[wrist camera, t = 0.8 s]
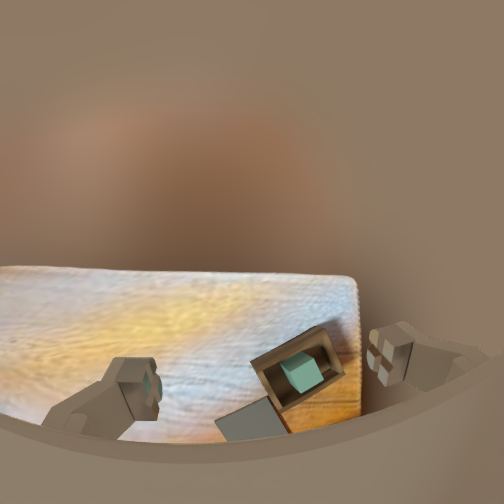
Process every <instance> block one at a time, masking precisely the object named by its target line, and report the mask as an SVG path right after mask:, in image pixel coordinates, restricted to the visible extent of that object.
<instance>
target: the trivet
mask: <svg viewBox="0 0 504 504" xmlns="http://www.w3.org/2000/svg"><path fill="white" fill-rule="evenodd" d="M214 422H215V424H216V425H217V427H218V428H219V429H220V431H221V432H222V434H223V435H224V437H225V438H226V440H227V441H228V442H229V441H241V440H250V439H258V438H266V437H273V436H279V435H285V434H288V432H287V430H286V429H285V427H284V425H283V424H282V422H281V420H280V419H279V417H278V415H277V414H276V412H275V410H274V409H273V407H272V405H271V403H270V402H269V400H268V398H267V397H266V396H265V397H263V398H261V399H259V400H257V401H255V402H253V403H251V404H249V405H247V406H245V407H243V408H241V409H239V410H237V411H235V412H232V413H230V414H228V415H226V416H224V417H221V418H219V419H217V420H215V421H214Z"/></svg>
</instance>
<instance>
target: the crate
mask: <svg viewBox="0 0 504 504" xmlns="http://www.w3.org/2000/svg"><path fill="white" fill-rule="evenodd" d="M300 351H302V352H304V353H305V354H307V355H309V356H311V357H312V358H314V360H315V362H316V364H317V366H318V368H319V370H320V372H321V375H322V377H323V379H324V380H323V381H321V382H319V383H318V384H316V385H314V386H313V387H311V388H309V389H308V390H306V391H304V392H303V393H300V392H299V391H298V390H297V389H296V388H295V387H294V386H293V385H292V384H291V383H290V382H289V380H288V379H287V377H286V375H285V373H284V371H283V369H282V367H281V365H280V363H281V362H282V361H284V360H286V359H288V358H290V357H291V356H293V355H295V354H297V353H298V352H300ZM250 363H251V365H252V367H253V368H254V370H255V372H256V374H257V376H258V377H259V379H260V381H261V383H262V385H263V386H264V388H265V390H266V392H267V393H268V395H269V397H270V399H271V400H272V402H273V404H274V405H275V407H276V408H277V410H278V411H279V413H280V414H281V413H283V412H285V411H287V410H288V409H290V408H292V407H294V406H296V405H297V404H299V403H301V402H303V401H304V400H306V399H308V398H309V397H311V396H313V395H314V394H316V393H318V392H319V391H321V390H323V389H324V388H326V387H327V386H329V385H330V384H332V383H334V382H335V381H337V380H338V379H340V378H341V377H343V376H344V375H346V374H345V372H344V370H343V368H342V365H341V363H340V361H339V359H338V357H337V354H336V352H335V350H334V348H333V345H332V343H331V341H330V339H329V337H328V335H327V332H326V330H325V329H323V328H319V327H316V326H313V327H312V328H310V329H308V330H307V331H305V332H303V333H301V334H300V335H298V336H296V337H295V338H293V339H291V340H289V341H287V342H286V343H284V344H282V345H280V346H278V347H277V348H275V349H273V350H271V351H269V352H267V353H265V354H264V355H262V356H260V357H258V358H256V359H254V360H252V361H250Z"/></svg>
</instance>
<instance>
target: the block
mask: <svg viewBox="0 0 504 504" xmlns="http://www.w3.org/2000/svg"><path fill="white" fill-rule="evenodd" d="M280 365H281V367H282V369H283V371H284V373H285V375H286V377H287V379H288V380H289V382H290V383H291V384H292V385H293V386H294V387H295V388H296V389H297V390H298V391H299V392H300V393H303V392H304V391H306V390H308V389H309V388H311V387H313V386H314V385H316V384H318V383H319V382H321V381H323V380H324V379H323V377H322V375H321V372H320V370H319V368H318V366H317V364H316V362H315V360H314V358H312V357H311V356H309V355H307V354H305V353H304V352H302V351H300V352H298V353H297V354H295V355H293V356H291V357H290V358H288V359H286V360H284V361H282V362H281V363H280Z"/></svg>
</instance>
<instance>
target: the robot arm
mask: <svg viewBox="0 0 504 504" xmlns="http://www.w3.org/2000/svg"><path fill="white" fill-rule="evenodd" d="M369 340H370V342H371V343H372V344H371V345H370V347H369V348H368V351H367V360H368V364H369V366H370V368H371V369H372V371H375V372H378V378H379V379H380V381H381V382H382V383H383V384H384V386H386V387H387V386H390V385H393V384H396V383H399V382H403V381H404V382H405V383H407V384H409V385H411V386H413V387H415V388H417V389H419V390H422V391H424V392H426V393H424V394H421V395H419V396H417V397H414V398H412V399H409V400H407V401H404V402H402V403H399V404H397V405H394V406H391V407H388V408H385V409H383V410H380V411H377V412H374V413H371V414H368V415H365V416H361V417H358V418H355V419H351V420H348V421H344V422H340V423H336V424H333V425H329V426H324V427H320V428H316V429H311V430H306V431H301V432H296V433H291V434H285V435H279V436H273V437H266V438H258V439H250V440H241V441H229V442H215V443H147V442H134V441H123V440H117V439H118V438H119V437H120V436H121V435H122V434H123V433H124V432H125V431H126V430H127V429H128V428H129V427H130V426H131V425H132V424H133V423H134V422H135V421H157V417H158V413H159V406H158V403H159V402H160V401H161V399H162V383H161V379H160V376H158V375H157V374H156V373H155V372H156V368H157V366H156V363H155V360H154V359H153V358H152V357H115V358H113V360H112V362H111V363H110V365H109V367H108V369H107V371H106V373H105V374H104V376H103V378H102V380H101V381H97V382H95V383H93V384H92V385H90V386H88V387H87V388H85V389H83V390H81V391H80V392H78V393H76V394H74V395H73V396H71V397H69V398H67V399H66V400H64V401H62V402H60V403H59V404H57V405H55V406H53V407H52V408H51V409H50V411H49V412H48V414H47V416H46V417H45V419H44V421H43V422H42V424H41V425H37V424H33V423H30V422H27V421H23V420H20V419H17V418H14V417H11V416H8V415H5V414H3V413H0V504H504V350H503V351H502V352H500V353H499V354H497V355H496V356H494V357H492V358H490V357H489V356H488V355H486V354H485V353H483V352H482V351H481V350H479V349H478V348H476V347H473V346H468V345H463V344H458V343H454V342H450V341H445V340H440V339H436V338H432V337H427V338H426V337H425V336H423V335H422V334H421V333H420V332H418V331H417V330H416V329H414V328H413V327H412V326H411V325H409V324H408V323H407V322H404V321H402V322H399V323H395V324H392V325H389V326H385V327H381V328H378V329H374V330H371V333H370V336H369Z"/></svg>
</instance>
